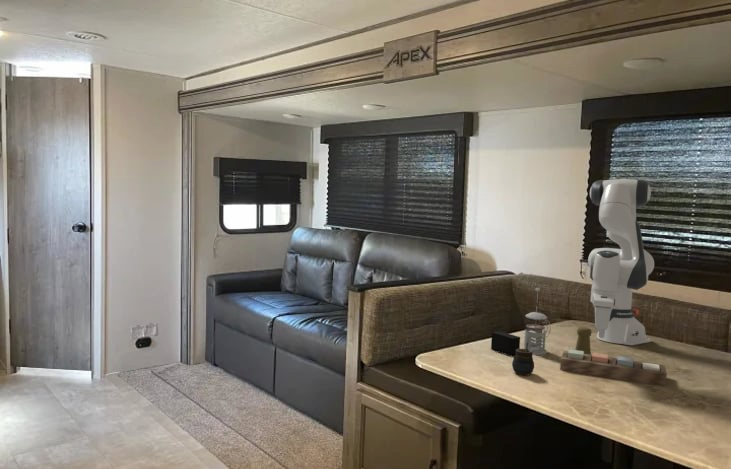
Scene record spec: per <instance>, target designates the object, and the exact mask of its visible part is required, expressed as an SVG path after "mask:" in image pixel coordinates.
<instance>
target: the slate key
mask: <svg viewBox="0 0 731 469" xmlns="http://www.w3.org/2000/svg"><path fill="white" fill-rule="evenodd" d="M616 358H617V365H621V366H628V367H633V361H634V358H633V357H626V356H621V355H618V356H617V357H616Z"/></svg>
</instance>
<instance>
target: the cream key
mask: <svg viewBox="0 0 731 469" xmlns="http://www.w3.org/2000/svg"><path fill="white" fill-rule="evenodd" d="M649 363H650V362H645V363H643V365H642V369H648V370H655V371H660V368H659V365H660V364H659V365H656V364H657V363H652V364H649Z"/></svg>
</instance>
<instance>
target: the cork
mask: <svg viewBox="0 0 731 469" xmlns="http://www.w3.org/2000/svg"><path fill="white" fill-rule="evenodd" d="M576 334H577V336H578V337H577V341H576V345H575V349H574V350H579V351H584V354H589V355H592V351H591V350H592V349H591V336H592V329H591V328H589V327H586V326H580V327H577V329H576Z"/></svg>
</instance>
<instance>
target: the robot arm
mask: <svg viewBox="0 0 731 469" xmlns="http://www.w3.org/2000/svg"><path fill="white" fill-rule="evenodd" d="M651 190H652V189H651V186H650V185H649V182H647V180H644V179H632V178H620V179H619V178H617V179H607V180H604V179H599V180H596V181H594V182H593V183H592V184H591V187H590V189H589V197H590V200H591V203H592V204H594V205H595V206H598V207H599V208H598V220H599V223H600V225H601V227H602V228H604V229H605V230H606V235H607V237H608V238H609V240H611V241H613V242H614V243H615V244H617V245H618V246H619V247H620V248H613V247H612V248H611V247H600V248H599V247H598V248H593V249H592V250H591V252H590V253H589V255H588V259H587V263H588V266H589V267H590V273H589V278H590V279H591V281H592V284H591V289H590V290H591V291H590V303H592V306H593V307H594V324H595V329H597V330H598V331H597V334H596V339H598V340H600V341H604V342H606V343H612V344H620V345H626V346H636V345H641V344H647V343H651V342H652V339H651V337H648V336H647V335H646V327H645V326H644V325H643V324H642V323H641V322H640V321H639V320H638V319H636V318H635V315H639V309H636V308H632V303H633V302H632V301H633V291H632V290H636V291H638V290H640V289H642V288H644V287H645V286H647V283H648V280H649V275H651V273H652V272H653V271H654V269H655V260H654V258H653V256H652V255H651V254H650V253H649V251H647V250H645V249H644V242H643V236H642V235H643V234H642V230H641V226H640V223H639V222H638V221H637V208H639V207H643V206H645V205H647V204H648V202H649V200H650V198H651V196H652V191H651ZM636 207H637V208H636Z"/></svg>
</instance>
